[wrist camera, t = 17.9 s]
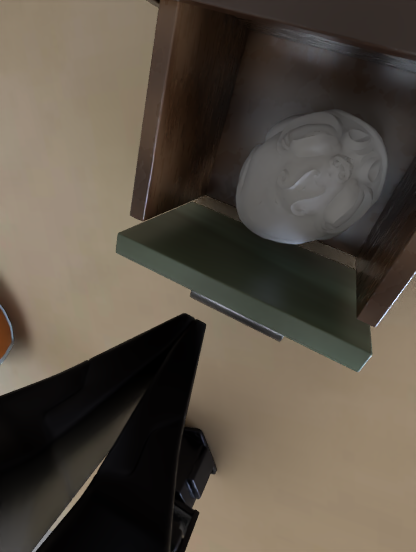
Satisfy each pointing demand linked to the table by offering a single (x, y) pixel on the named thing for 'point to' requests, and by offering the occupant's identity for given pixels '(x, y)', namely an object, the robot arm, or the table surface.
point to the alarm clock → (5, 335)
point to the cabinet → (333, 20)
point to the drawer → (228, 163)
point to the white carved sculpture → (311, 177)
